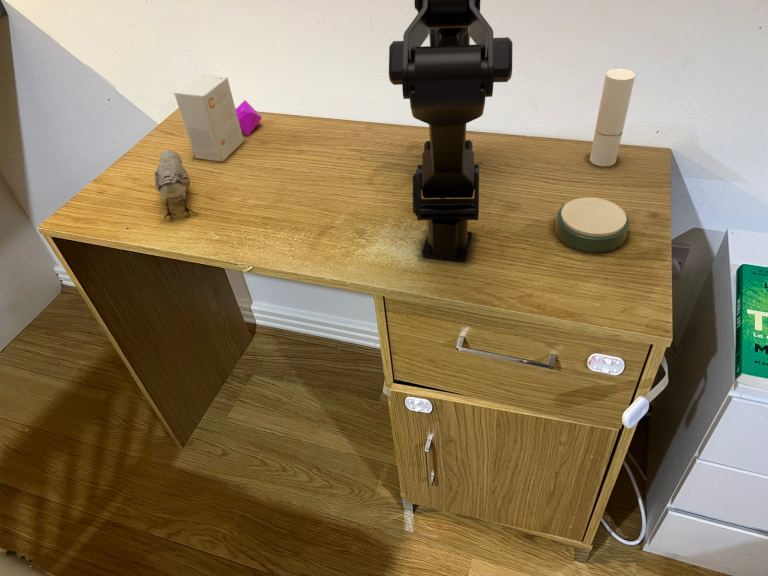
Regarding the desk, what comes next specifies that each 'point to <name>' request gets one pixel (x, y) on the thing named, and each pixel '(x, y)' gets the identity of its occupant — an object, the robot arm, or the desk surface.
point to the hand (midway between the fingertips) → (450, 83)
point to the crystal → (247, 117)
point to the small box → (210, 117)
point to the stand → (592, 225)
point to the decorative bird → (172, 179)
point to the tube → (611, 116)
